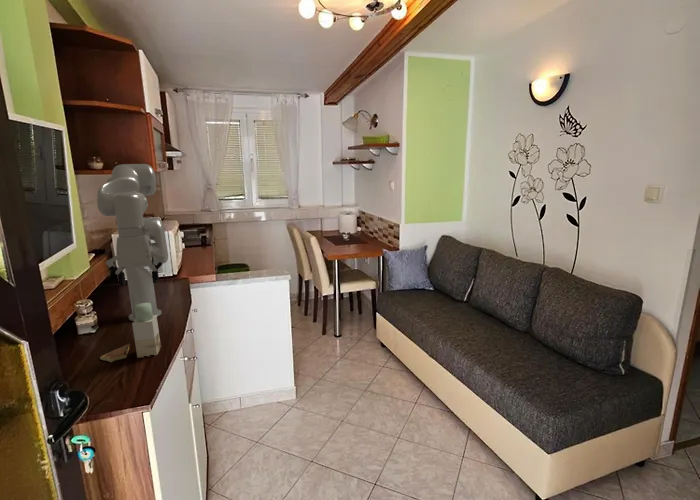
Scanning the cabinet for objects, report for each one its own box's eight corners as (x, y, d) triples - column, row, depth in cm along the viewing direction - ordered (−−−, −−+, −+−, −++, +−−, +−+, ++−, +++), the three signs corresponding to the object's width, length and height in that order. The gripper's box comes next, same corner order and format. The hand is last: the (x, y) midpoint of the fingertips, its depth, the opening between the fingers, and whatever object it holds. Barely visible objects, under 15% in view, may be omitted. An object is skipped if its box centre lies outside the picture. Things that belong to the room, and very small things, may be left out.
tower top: (139, 333, 131) (137, 317, 130) (158, 331, 132) (156, 315, 131) (134, 340, 125) (132, 323, 124) (154, 338, 127) (152, 321, 126)
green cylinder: (138, 317, 129) (136, 303, 129) (154, 315, 131) (152, 302, 130) (134, 322, 125) (132, 308, 124) (150, 321, 126) (148, 306, 125)
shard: (130, 347, 136) (129, 342, 136) (144, 350, 133) (144, 345, 132) (99, 360, 126) (98, 355, 126) (114, 364, 123) (113, 359, 123)
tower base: (142, 350, 132) (139, 333, 131) (161, 347, 134) (158, 331, 132) (137, 357, 126) (134, 340, 125) (157, 355, 128) (154, 338, 127)
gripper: (163, 229, 128) (170, 278, 131) (106, 232, 124) (114, 283, 127) (158, 232, 121) (165, 284, 124) (97, 236, 117) (106, 289, 120)
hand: (139, 283), depth 126 cm, fingers open, 9 cm apart
